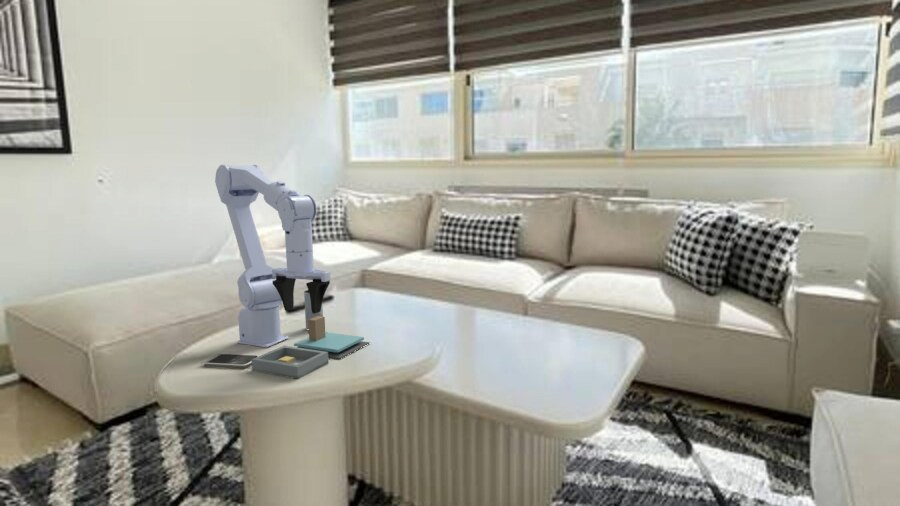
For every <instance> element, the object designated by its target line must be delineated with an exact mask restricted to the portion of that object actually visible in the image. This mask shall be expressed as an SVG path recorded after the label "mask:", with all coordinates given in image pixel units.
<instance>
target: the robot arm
mask: <svg viewBox="0 0 900 506" xmlns="http://www.w3.org/2000/svg"><path fill="white" fill-rule="evenodd" d="M214 183H215V186H216V190H217V193H218V196H219V199H220V202H221V203H222V204H224V205H225V206H226V209H227V213H228V216H229V219H230V224H231V227H232V230H233V233H234V236H235V239H236V244H237V246H238V249H239V254H240V256H241V260H242V262H243V265H244V269H245V270H244V272H242V273H241V274H240V276H239V277H238V279H237V288H238V298H239V301H240V303H241V304H242V305H243V306H242V307H241V308H240V311H239V312H238V318H237V319H238V331H239V340H237V342H236V343H237V344H241V345H248V346H255V347H262V348H269V347H271V346H273V345H276V344H278V342H279V343H281V342H283V340H284V341H286V340H289V336H287V335H282V334H281V332H282V331H281V319H280V317H281V315H280V306H281V305H282V304H283V308H284V310H285V311H289V310H293V309H294V304H295V303H294V302H295V301H294V296H295V295H294V290H295V284H296V280H308V282H306V288H307V290H309V294H310V299H311V310H312V313H314V314H315V313H318V312H320V311H321V306H322V305H323V302H324V297H325V295H326V291H327V290H328V288H329V286H330V283H331V282H330V281H331V271H328V270H327V271H325V270H320V269H316V268H314V267H315V266H314V249H313V247H314V245H313V229H312V228H313V227H312V221H313V220H315V219H316V216H317V211H318V209H317V203H316V201H315V200H314V198H313V197H312V196H311V195H310V194H304V195H300V194H299V193H297V190H295V189H291V188H290V187H289V186H287V185H286V182H285V181H283V180H282V181H281V180H277V181H272V180H271V179H270V178H269V177H268V176H266V175H265V173H264V169H263V168H262V167H260V166H259V165H258V164H253V165H247V164H245V165H243V164H242V165H238V164H237V165H235V164H233V165H229V164H227V165H226V164H220V165H219V166H218V167H217V169H216V172H215V178H214ZM259 194H262V195H263V200H264V202H265V203H266V204H268V205H269V206H270V207H272V208H273V209H274V210H275V211H277V213H278V214H277V215H278V216H279V217H278V218H279V219H280V222H281V228H282V231H284V238H285V239H284V241H285V257H286V259H285V260H286V267H276V268H274V267H273V266H271V265H269V264H268V263H267V260H266V258H265V254H264V251H263V247H262V244H261V241H260V238H259V234H258V231H257V228H256V225H255V220H254V217H253V215H252V211H251V208H250V205H251V204H252V203H254V202H256V201H257V198H258V195H259ZM285 339H286V340H285Z"/></svg>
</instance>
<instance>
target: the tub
mask: <svg viewBox="0 0 900 506" xmlns="http://www.w3.org/2000/svg"><path fill="white" fill-rule="evenodd" d="M297 347H298V346H289V345H283V346H280V347H278V348H276V349H273V350H271V351H268V352H266V353H262V354H261V355H259V356H258V355H257V356H258V357H256V358H254V359H252V366H251V370H252V372H258V373H264V374H269V375H273V376H274V375H275V376H279V377H280V376H281V377H286V378H291V379H292V378H293V379H297V380H299V379H301V378H303V377H304V376H306V375H309V374H310V373H312V372H315V371H316V370H318V369H320V368H322V367H324V366H326V365H327V364H329V358H328V352H324V351H318V350H311V349H304V348H297Z"/></svg>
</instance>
